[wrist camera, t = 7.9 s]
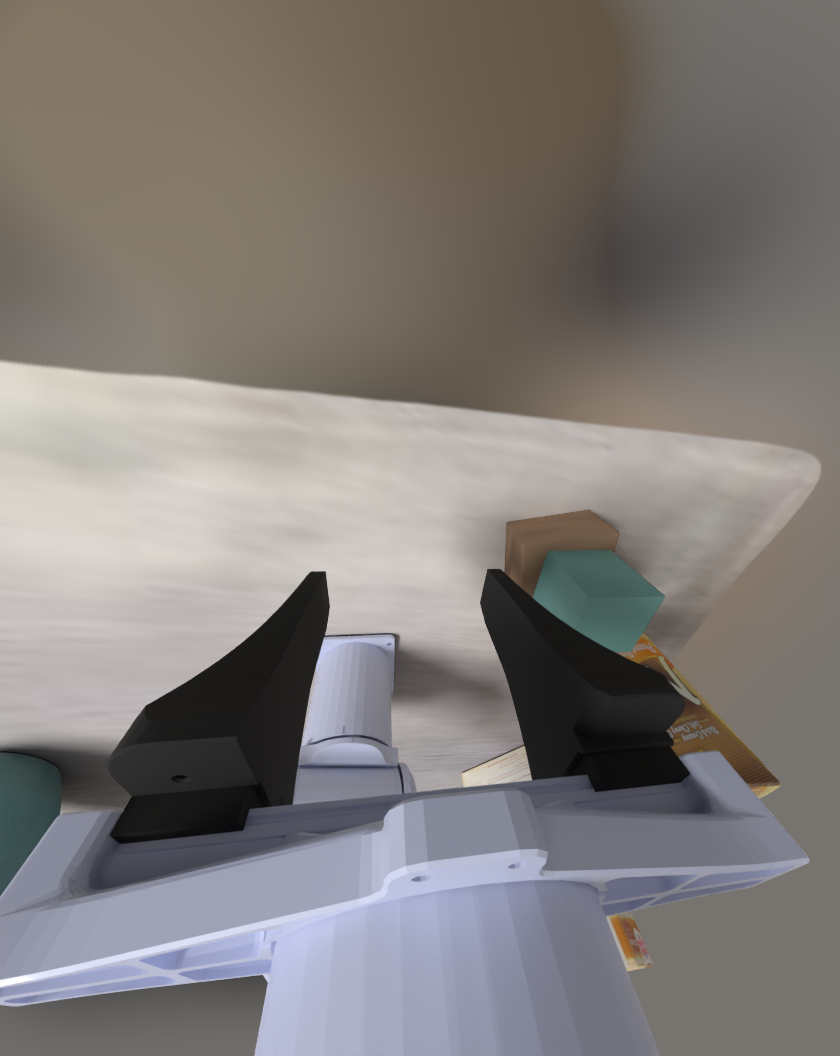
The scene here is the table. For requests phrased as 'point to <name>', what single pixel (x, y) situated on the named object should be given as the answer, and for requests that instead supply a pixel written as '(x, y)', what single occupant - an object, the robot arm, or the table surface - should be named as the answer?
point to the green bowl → (25, 809)
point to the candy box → (703, 723)
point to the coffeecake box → (517, 770)
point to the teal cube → (598, 596)
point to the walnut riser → (552, 542)
